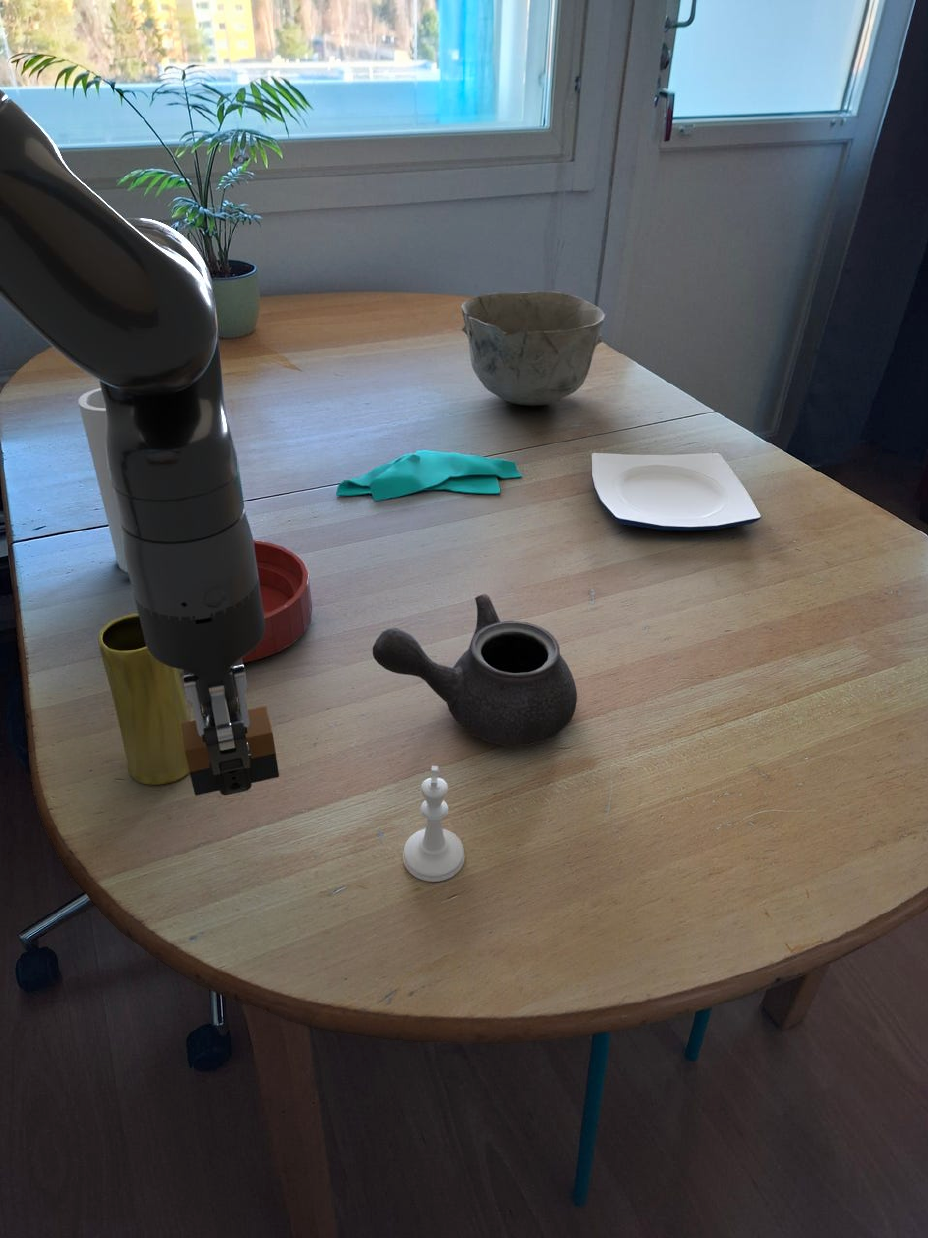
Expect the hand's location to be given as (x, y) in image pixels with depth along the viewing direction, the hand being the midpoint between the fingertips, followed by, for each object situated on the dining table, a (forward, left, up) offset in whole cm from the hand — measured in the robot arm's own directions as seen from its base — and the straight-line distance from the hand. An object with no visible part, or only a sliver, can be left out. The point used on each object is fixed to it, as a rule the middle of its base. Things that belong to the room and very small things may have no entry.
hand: (232, 771), depth 64 cm
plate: (+62, +42, -9) cm, 75 cm away
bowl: (+57, +80, -9) cm, 99 cm away
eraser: (0, 0, 0) cm, 0 cm away
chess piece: (+14, -5, -9) cm, 17 cm away
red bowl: (+3, +31, -9) cm, 32 cm away
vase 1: (-3, +47, -9) cm, 48 cm away
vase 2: (-6, +12, -9) cm, 16 cm away
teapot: (+23, +11, -9) cm, 27 cm away
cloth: (+33, +58, -9) cm, 67 cm away
